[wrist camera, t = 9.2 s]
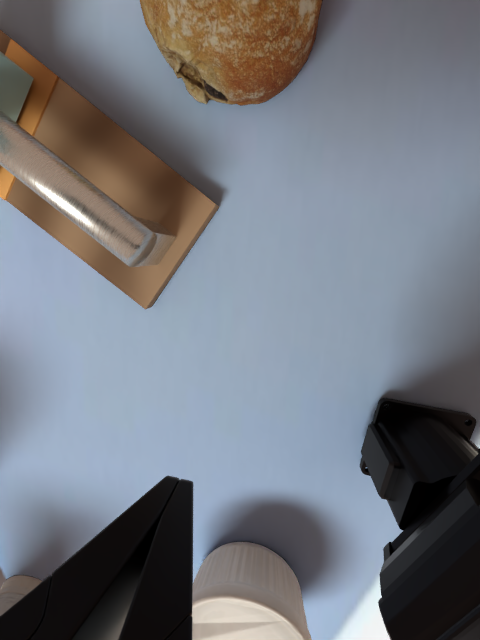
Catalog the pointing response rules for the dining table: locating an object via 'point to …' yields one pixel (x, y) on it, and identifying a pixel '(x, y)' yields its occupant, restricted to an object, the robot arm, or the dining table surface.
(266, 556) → the ramekin
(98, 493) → the dining table surface
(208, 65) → the bread roll
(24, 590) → the black and white mug
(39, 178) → the grey metal pipe
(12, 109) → the sage green slotted block
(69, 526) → the dining table surface
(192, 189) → the walnut board
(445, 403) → the dining table surface
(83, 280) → the dining table surface
